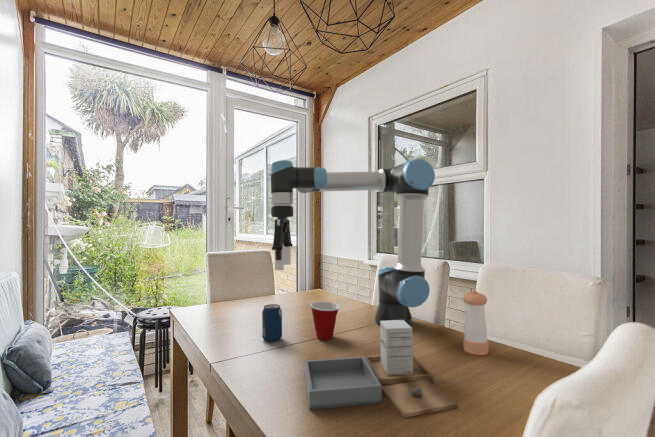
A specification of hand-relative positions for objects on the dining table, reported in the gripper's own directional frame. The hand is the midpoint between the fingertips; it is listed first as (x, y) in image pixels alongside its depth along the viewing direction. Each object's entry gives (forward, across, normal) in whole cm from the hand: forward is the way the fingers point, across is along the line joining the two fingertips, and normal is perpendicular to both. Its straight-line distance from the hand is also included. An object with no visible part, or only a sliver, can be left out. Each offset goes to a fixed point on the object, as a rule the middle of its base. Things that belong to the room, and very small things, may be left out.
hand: (283, 267), depth 113 cm
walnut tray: (+27, +20, +35) cm, 48 cm away
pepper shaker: (+27, +4, +63) cm, 68 cm away
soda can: (+27, -4, -5) cm, 27 cm away
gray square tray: (+26, +30, +20) cm, 44 cm away
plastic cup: (+27, -6, +14) cm, 31 cm away
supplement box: (+26, +20, +35) cm, 48 cm away
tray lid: (+27, +34, +38) cm, 57 cm away
